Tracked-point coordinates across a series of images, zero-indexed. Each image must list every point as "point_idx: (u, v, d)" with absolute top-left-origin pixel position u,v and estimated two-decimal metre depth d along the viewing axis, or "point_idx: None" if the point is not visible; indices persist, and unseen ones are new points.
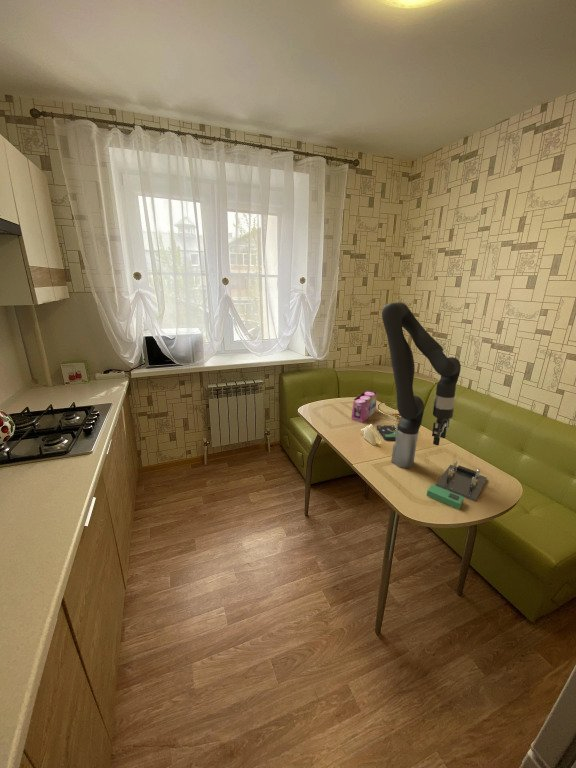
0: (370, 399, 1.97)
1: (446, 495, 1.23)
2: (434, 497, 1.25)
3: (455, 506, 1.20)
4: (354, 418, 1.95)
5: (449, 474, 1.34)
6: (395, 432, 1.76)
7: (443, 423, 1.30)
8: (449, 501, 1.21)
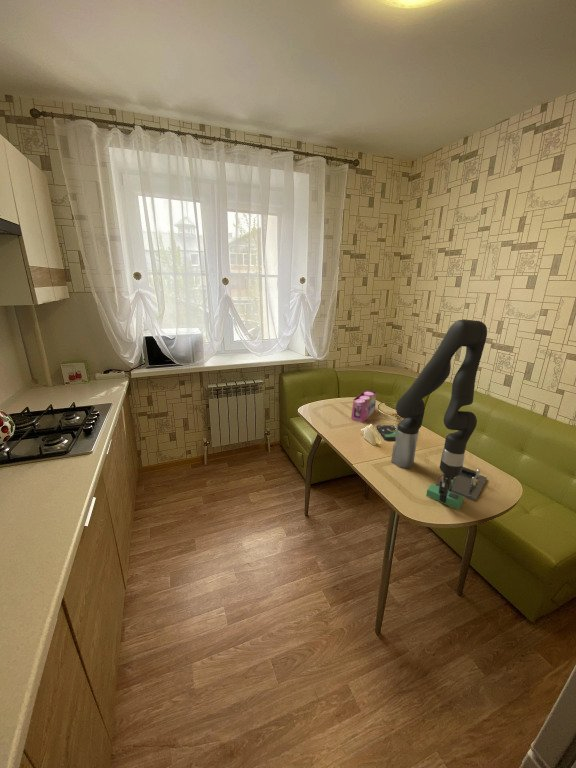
0: (370, 399, 1.97)
1: None
2: (434, 497, 1.25)
3: (455, 505, 1.20)
4: (354, 418, 1.95)
5: None
6: (395, 432, 1.76)
7: (450, 480, 1.20)
8: (448, 500, 1.21)
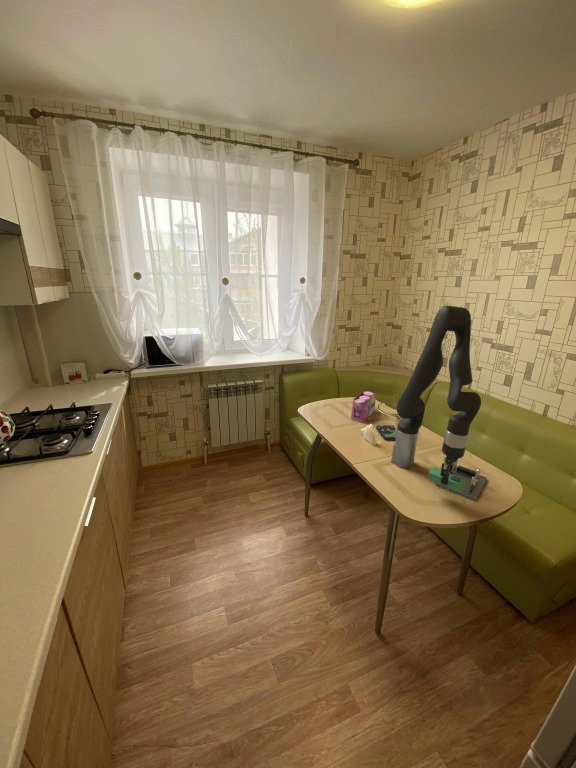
0: (369, 399, 1.97)
1: None
2: (435, 480, 1.23)
3: (456, 488, 1.18)
4: (354, 418, 1.96)
5: None
6: (395, 432, 1.76)
7: (453, 462, 1.18)
8: (450, 483, 1.19)
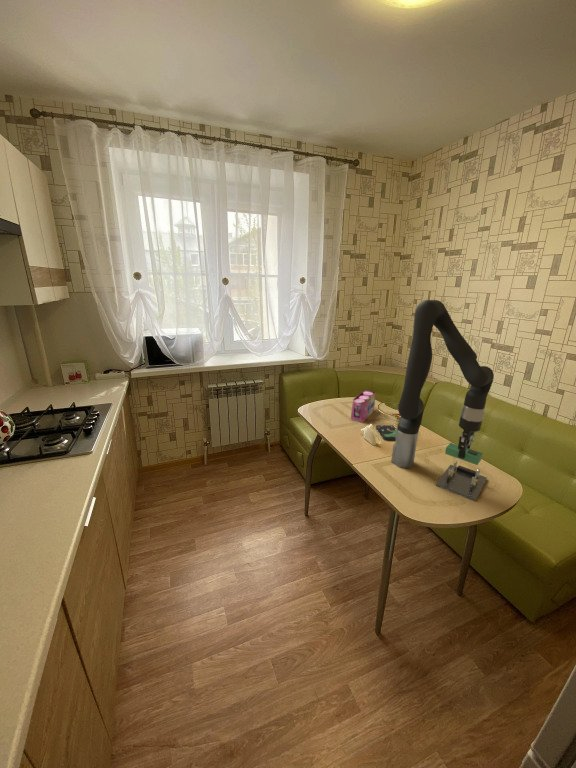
0: (369, 399, 1.97)
1: None
2: (453, 454, 1.28)
3: (474, 461, 1.23)
4: (353, 418, 1.96)
5: (449, 474, 1.34)
6: (394, 432, 1.76)
7: (470, 436, 1.23)
8: (467, 456, 1.24)
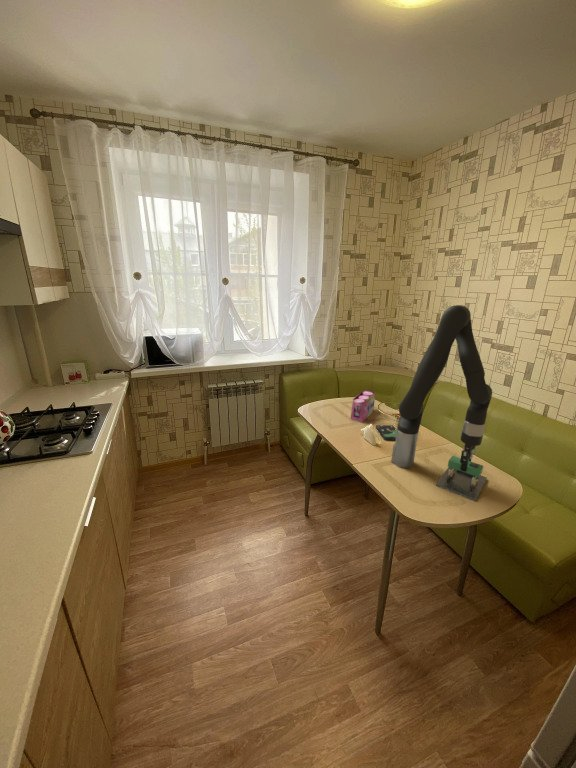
0: (369, 399, 1.97)
1: None
2: (455, 467, 1.34)
3: (475, 474, 1.29)
4: (353, 418, 1.96)
5: (449, 474, 1.34)
6: (394, 432, 1.76)
7: (471, 450, 1.29)
8: (469, 469, 1.30)
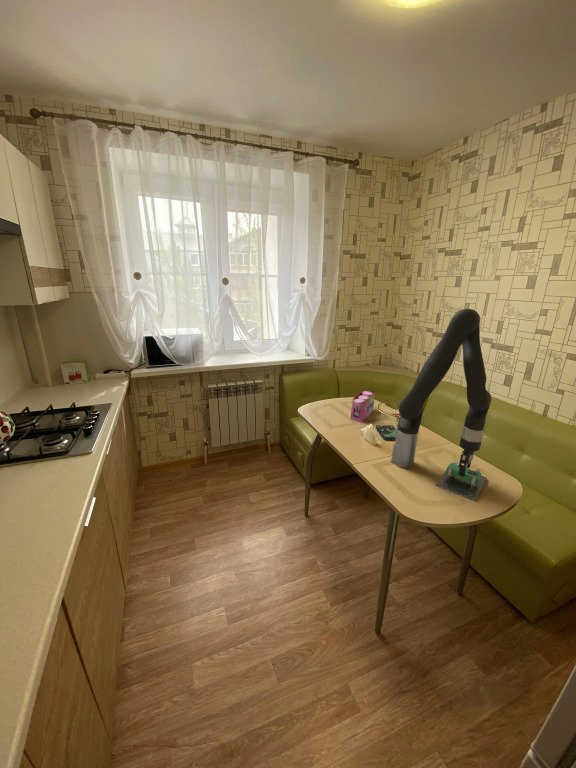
0: (369, 398, 1.98)
1: (465, 471, 1.33)
2: (453, 474, 1.35)
3: None
4: (353, 418, 1.96)
5: (449, 474, 1.34)
6: (394, 432, 1.77)
7: (470, 455, 1.29)
8: (467, 476, 1.31)
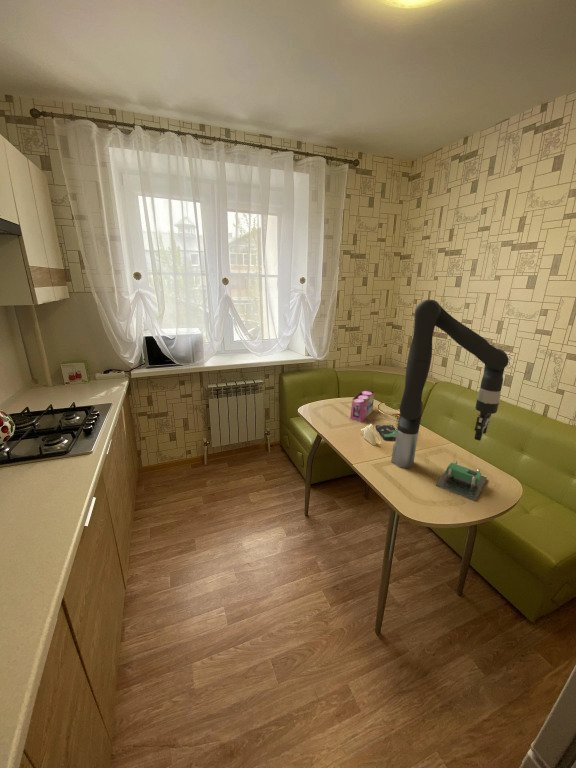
0: (368, 398, 1.98)
1: (465, 471, 1.33)
2: (453, 474, 1.35)
3: None
4: (353, 418, 1.96)
5: (449, 474, 1.34)
6: (394, 432, 1.77)
7: (486, 418, 1.26)
8: (467, 476, 1.31)
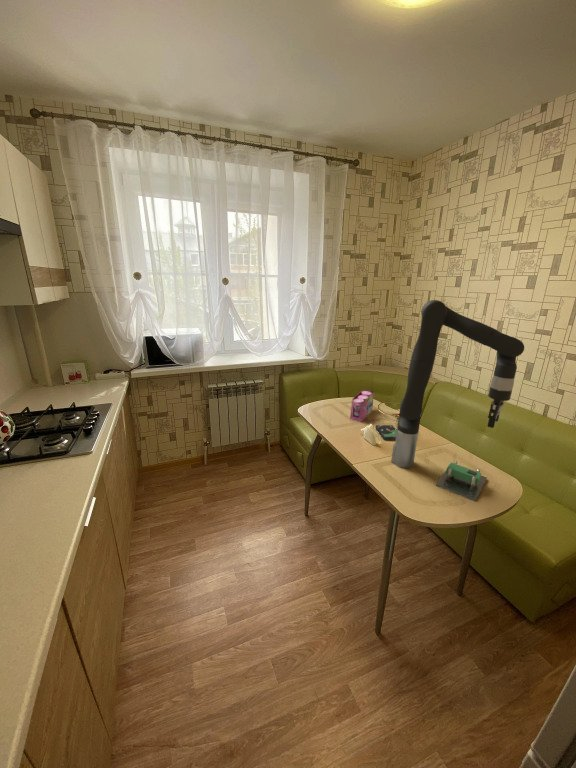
0: (368, 398, 1.98)
1: (465, 471, 1.33)
2: (453, 474, 1.35)
3: None
4: (353, 418, 1.96)
5: (449, 474, 1.34)
6: (394, 432, 1.77)
7: (500, 405, 1.27)
8: (467, 476, 1.31)
